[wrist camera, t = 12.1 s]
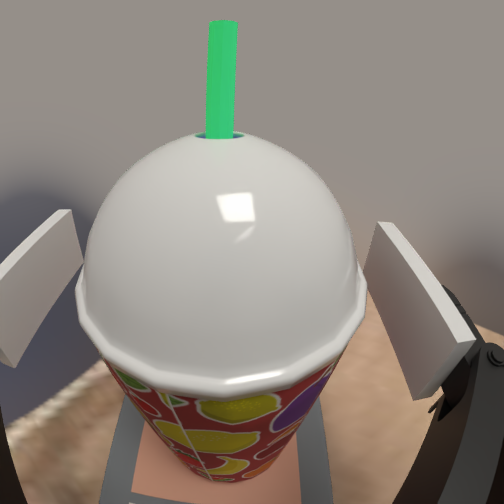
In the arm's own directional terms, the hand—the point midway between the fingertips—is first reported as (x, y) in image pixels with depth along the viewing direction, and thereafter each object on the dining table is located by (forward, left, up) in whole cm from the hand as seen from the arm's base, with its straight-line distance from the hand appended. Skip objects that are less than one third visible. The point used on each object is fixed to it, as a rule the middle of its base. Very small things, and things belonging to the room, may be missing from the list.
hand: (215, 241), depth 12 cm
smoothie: (-1, +3, -13) cm, 13 cm away
